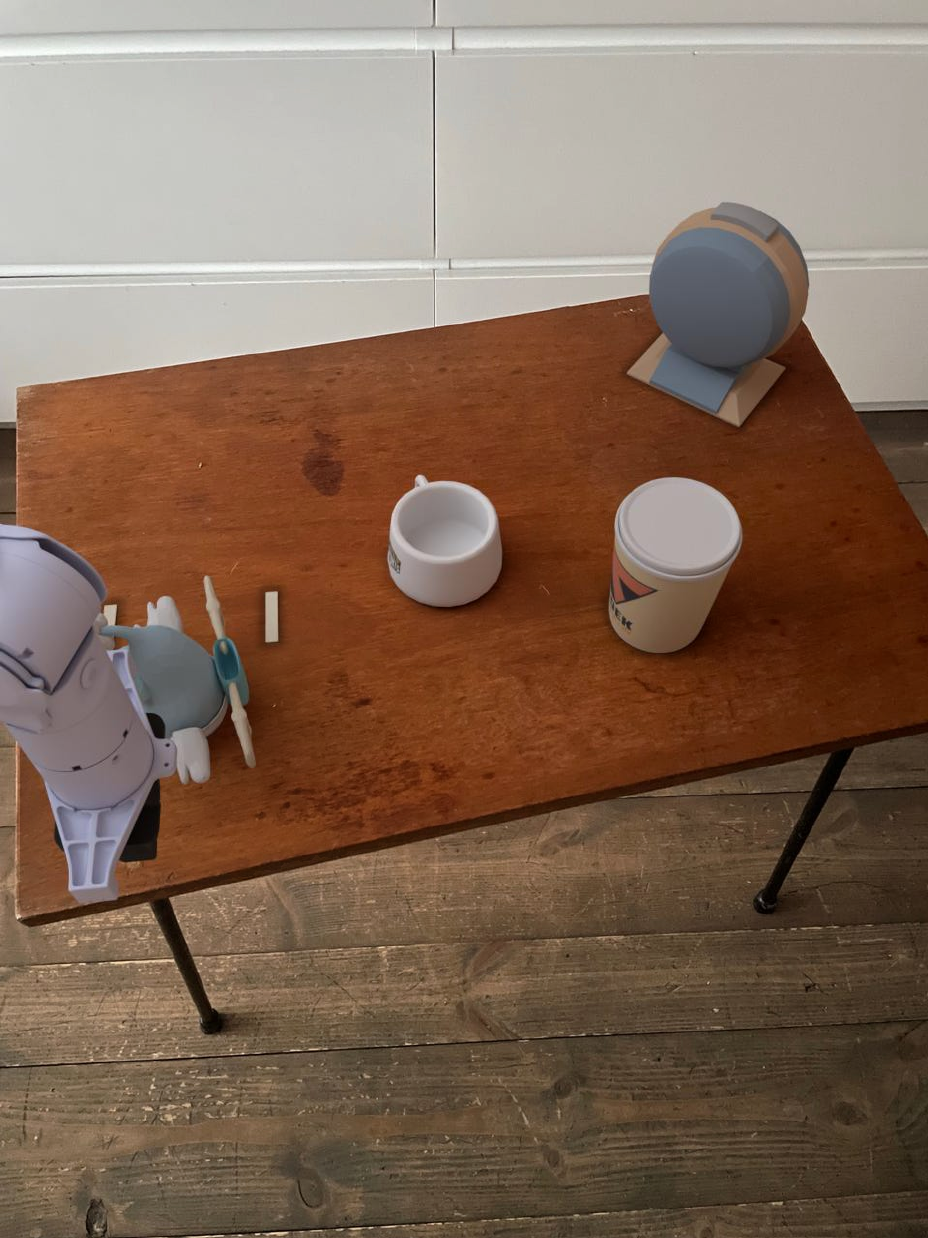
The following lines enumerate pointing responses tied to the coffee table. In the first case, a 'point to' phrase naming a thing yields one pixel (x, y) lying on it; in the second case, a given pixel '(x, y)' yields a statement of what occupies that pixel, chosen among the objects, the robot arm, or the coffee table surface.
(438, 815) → the coffee table surface
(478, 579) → the mug
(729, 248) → the alarm clock
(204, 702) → the toy figure
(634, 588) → the coffee cup
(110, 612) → the tape marks
